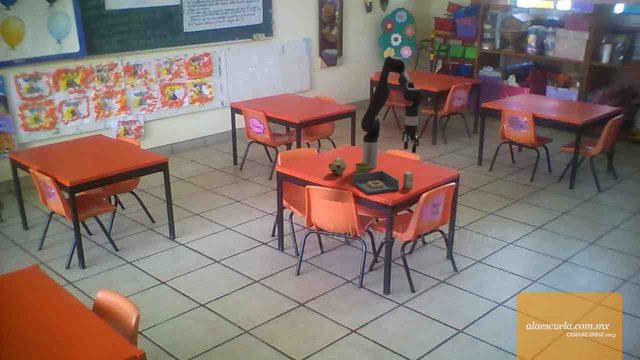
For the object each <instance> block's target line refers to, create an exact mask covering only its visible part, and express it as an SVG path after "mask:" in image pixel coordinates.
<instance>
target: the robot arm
mask: <svg viewBox="0 0 640 360" xmlns="http://www.w3.org/2000/svg"><path fill="white" fill-rule="evenodd" d="M390 73H395V74H398V75H399V76H398V85H399V86H400V88H401V90H402V97H403V99H404V100H405V101H406V102H412V103H410V104H407V105H406V106H405V113H404V126H403V129H404V130H402V135H401V141H402V142H403V149H404V150H408V149H409V144H411V146H412V147H411V153H412V154H416V153H417V147H419V146H420V136H419V135H417V132H418V130H419V129H418V128H419V109H420V108H419V107H420V104H421V101H422V98H423V91H422V89H421V88H419V87H415V84H414V83H413V81H412V79H411V77H410V75H409V73H408V68H407V66H406V63H405V61H404V59H403V58H402V57H398V56H394V55H388V56H386V57H385V59H384V62H383V65H382V68H381V72H380V75H379V78H378V82H377V83H376V87H375V88H374V90H373V91H374V92H373V94H372V97H371V100H370V102H369V104H368V108H367V109H366V112H365V114H364V115H363V118H362V119H361V123H360V126H361V129H362V131H364V132H366V133H365V135H364V136H363V138H362V154H361V155H362V156H361V157H362V159H361V160H362V161H361V163H368V164H370V167H369V170H370V169H375V168H377V167H378V163H377V162H378V140H379V137H380V129H381V127H380V126H381V121H380V119H379V117H378V116H377V115H378V114H379V112H380V111H381V110H382V108H383V107H384V106H385V105H386V103H387V101H388V99H389V96H390V93H391V89H390V85H389V82H388V81H389V80H388V77H389V75H390ZM409 142H410V143H409Z"/></svg>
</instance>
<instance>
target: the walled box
mask: <svg viewBox="0 0 640 360" xmlns="http://www.w3.org/2000/svg"><path fill="white" fill-rule="evenodd" d="M399 180H400V179H398V178H396V177H394V176H393V175H391V174H389V173H388V172H386V171H384V170H375V171H368V172H367V173H360V174H357V173H353V174H352V185H353V186H355V187H356V188H358V189H359V190H361V191H362V192H364V193H365V194H367V195H368V196H369V195H377V194H383V193H389V192H390V191H391V192H396V191H400V186H399V184H400V183H399V182H400V181H399Z"/></svg>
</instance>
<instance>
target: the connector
mask: <svg viewBox="0 0 640 360" xmlns="http://www.w3.org/2000/svg"><path fill="white" fill-rule="evenodd" d="M402 177H403V178H402V179H403V180H402V188H404V190H409V189H413V182H414V181H413V180H414V173H413V172H412V171H405V172H403V176H402Z"/></svg>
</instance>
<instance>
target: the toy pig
mask: <svg viewBox="0 0 640 360" xmlns="http://www.w3.org/2000/svg"><path fill="white" fill-rule="evenodd" d="M328 168H329V170H330V171H331V174H332V175H334V174H335V175H339V176H341V175H342V174H343V173H344V172H345V170H346V168H347V164H346V161H345V160H344V158H343V157H339V156H337V157H336V158H335V159H334V160H333V161H332V162H331V163H329V164H328Z"/></svg>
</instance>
